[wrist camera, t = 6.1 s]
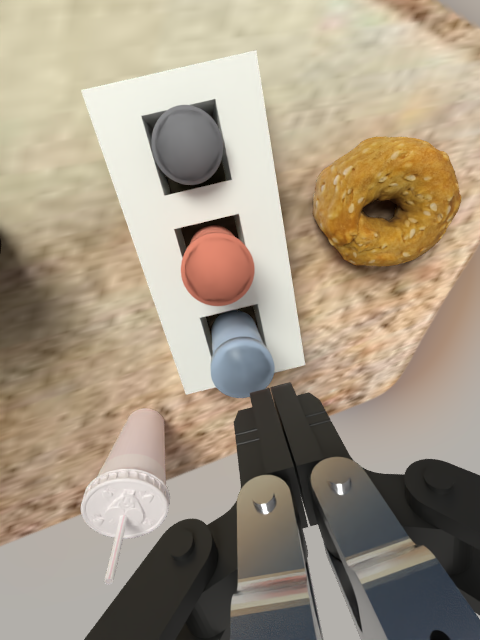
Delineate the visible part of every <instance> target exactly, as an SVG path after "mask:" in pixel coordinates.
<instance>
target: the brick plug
mask: <svg viewBox="0 0 480 640" xmlns="http://www.w3.org/2000/svg"><path fill="white" fill-rule="evenodd" d="M254 273H255V267H254V261H253V258H252V255H251V253H250V252H249V250H248V249H247V247H246V246H245V245H244V243H243V242H242V241H241V240H239V239H238V238H237V237H235V236H234V235H233V234H232V233H231V232H230V231H229V230H228V229H226V228H224V227H222V226H217V225H210V226H206V227H203V228H201V229H200V230H198V231H197V232H196V233H195V234H194V235H193V237H192V239H191V241H190V244H189V246H188V247H187V249H186V251H185V253H184V256H183V259H182V263H181V277H182V281H183V284H184V286H185V288H186V289H187V291H188V292H189V293H190V294H191V295H192V296H193V297H194V298H195V299H196V300H198V301H199V302H202V303H204V304H207V305H211V306H225V305H229V304H232V303H234V302H236V301H237V300H239V299H240V298H242V297H243V296H244V295H245V294H246V293H247V291H248V290H249V288H250V286H251V284H252V282H253V279H254Z"/></svg>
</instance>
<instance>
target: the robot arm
mask: <svg viewBox="0 0 480 640" xmlns="http://www.w3.org/2000/svg"><path fill="white" fill-rule="evenodd" d="M271 391H272V395H271V392H270V389H269V388H267V389H263V390H259V391H255V392H251V393H250V398H251V402H252V408H248V409H244V410H240V411H238V413H237V416H236V418H235V421H234V428H235V435H236V436H235V437H236V444H237V454H238V463H239V471H240V481H241V490H240V492H239V494H238V498H237V501H236V503H235V504H234V506H233V507H232V508H231V509H230V510H229V511H228V512H227V513H225V514H224V515H223V516H221V517H220V518H218V519H216V520H215V521H213V522H211V523H210V524H208V525H206V524H205V523H204V522H202V521H200V520H198V519H186V520H182V521H180V522H178V523H176V524H174V525H173V526H172V527H170V528H169V529H168V530H167V531H166V532H165V533H164V534H163V535H162V537H161V538H160V539H159V541H158V542H157V544H156V545H155V546H154V547H153V549H152V550H151V551H150V553H149V554H148V555H147V557H146V558H145V559H144V561H143V562H142V563H141V565H140V566H139V568H138V569H137V570H136V571H135V573H134V574H133V575H132V577H131V578H130V579H129V581H128V582H127V583H126V585H125V586H124V587H123V589H122V590H121V591H120V593H119V594H118V596H117V597H116V598H115V599H114V601H113V602H112V603H111V605H110V606H109V607H108V609H107V610H106V611H105V613H104V614H103V615H102V617H101V618H100V619H99V621H98V622H97V623H96V625H95V626H94V627H93V629H92V630H91V631H90V633H89V634H88V635H87V637H86V638H85V639H84V640H323V635H322V630H321V625H320V620H319V615H318V610H317V605H316V599H315V595H314V590H313V585H312V579H311V574H310V569H309V565H308V560H307V557H308V550H307V545H306V541H305V537H304V533H303V529H302V528H306V527H308V524H307V520H306V516H305V512H304V507H305V510H306V514H307V517H308V520H309V523H310V526H313V525H316V524H318V525H319V529H320V532H321V535H322V538H323V541H324V546H325V551H326V554H327V557H328V560H329V562H330V564H331V567H332V569H333V572H334V574H335V576H336V579H337V582H338V584H339V587H340V589H341V592H342V594H343V597H344V599H345V601H346V604H347V606H348V609H349V611H350V614H351V616H352V619H353V621H354V624H355V626H356V629H357V631H358V633H359V636H360V639H361V640H480V619H479V618H478V616H477V615H476V613H477V614H478V615H480V475H477V474H475V473H472V472H470V471H467V470H465V469H462V468H459V467H457V466H455V465H452V464H450V463H447V462H444V461H440V460H435V459H424V460H419V461H416V462H414V463H412V464H411V465H410V466H409V467H408V468H407V470H406V472H405V475H400V474H399V475H398V474H381V473H375V472H371V471H368V470H366V469H364V468H362V467H361V466H360V465H359V464H358V463H356V462H355V461H353V459H352V458H351V457H350V455H349V453H348V451H347V450H346V448H345V446H344V444H343V442H342V440H341V438H340V437H339V435H338V433H337V431H336V429H335V427H334V426H333V424H332V422H331V421H330V418H329V416H328V414H327V413H326V411H325V409H324V407H323V405H322V403H321V401H320V400H319V399H318V398H316V397H315V396H313V395H312V394H310V393H305V394H301V395H298V396H296V393H295V391H294V389H293V387H292V384H291V383H286V384H282V385H278V386H274V387H271ZM272 396H273V398H272ZM273 400H274V402H273ZM274 404H275V405H274ZM300 494H301V495H300ZM301 497H302V499H301ZM302 501H303V503H302ZM303 504H304V507H303Z"/></svg>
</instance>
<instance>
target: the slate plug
mask: <svg viewBox="0 0 480 640" xmlns="http://www.w3.org/2000/svg"><path fill="white" fill-rule="evenodd" d="M211 335H212V350H213V356H212V358H211V364H210V367H211V378H212V381H213V383H214V385H215V386H216V388H217V389H218V390H219V391H221V392H222V393H224V394H225V395H228V396H230V397H235V398H246V397H250V393H251V392H255V391H259V390H263V389H265V388H266V387H267V386H268V385H269V383H270V382H271V380H272V378H273V375H274V370H275V366H274V361H273V358H272V356H271V354H270V351H269V350H268V348H267V347H266V346H265V345H264V344H263V342H262V339H261V337H260V334H259V332H258V329H257V327H256V324H255V322H254V320H253V319H252V317H251V316H250V315H248V314H247V313H245V312H242V311H238V310H231V311H227V312H225V313H223V314H221V315H220V316H218V317H217V318H216V320H215V321H214V323H213V325H212V329H211Z"/></svg>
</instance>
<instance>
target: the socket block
mask: <svg viewBox="0 0 480 640" xmlns="http://www.w3.org/2000/svg"><path fill="white" fill-rule="evenodd" d="M81 92H82V94H83V97H84V100H85V103H86V106H87V109H88V112H89V115H90V118H91V121H92V123H93V126H94V129H95V132H96V135H97V138H98V141H99V144H100V147H101V150H102V152H103V155H104V158H105V161H106V164H107V167H108V170H109V173H110V176H111V179H112V181H113V184H114V187H115V190H116V193H117V196H118V199H119V202H120V205H121V208H122V210H123V213H124V216H125V219H126V222H127V225H128V228H129V231H130V234H131V237H132V239H133V242H134V245H135V248H136V251H137V254H138V257H139V260H140V263H141V266H142V268H143V271H144V274H145V277H146V280H147V283H148V286H149V289H150V292H151V294H152V297H153V300H154V303H155V306H156V309H157V312H158V315H159V318H160V321H161V323H162V326H163V329H164V332H165V335H166V338H167V341H168V344H169V347H170V350H171V352H172V355H173V358H174V361H175V364H176V367H177V370H178V373H179V376H180V379H181V381H182V384H183V387H184V390H185V393H186V395H187V394H191V393H195V392H199V391H203V390H207V389H211V388H215V387H216V386H215V385H214V383H213V381H212V378H211V367H210V364H211V358H212V356H213V350H212V337H211V334H210V330H209V327H208V323H207V320H206V316H210V315H214V314H218V313H222V312H226V311H230V310H234V309H238V308H242V307H247V306H251V305H253V308H254V313H255V317H256V322H257V327H258V332H259V334H260V337H261V339H262V342H263V344H264V345H265V346H266V347H267V348H268V350H269V351H270V354H271V356H272V358H273V361H274V366H275V370H274V373H275V372H279V371H283V370H287V369H291V368H295V367H300V366H304V365H305V360H304V354H303V347H302V341H301V334H300V328H299V322H298V315H297V309H296V302H295V296H294V290H293V283H292V277H291V270H290V264H289V257H288V251H287V245H286V238H285V232H284V225H283V219H282V213H281V206H280V200H279V193H278V187H277V181H276V174H275V168H274V161H273V155H272V149H271V142H270V136H269V129H268V123H267V116H266V110H265V104H264V97H263V91H262V84H261V78H260V72H259V65H258V59H257V52H256V50H255V51H250V52H246V53H242V54H237V55H233V56H229V57H224V58H220V59H215V60H211V61H207V62H202V63H198V64H193V65H189V66H185V67H180V68H176V69H172V70H167V71H163V72H158V73H154V74H150V75H145V76H141V77H137V78H132V79H128V80H123V81H119V82H115V83H110V84H106V85H102V86H97V87H93V88H88V89H84V90H81ZM178 105H191V106H195V107H198V108H200V109H202V110H203V111H205V112H206V113H207V114H209V115H210V116H211V117H212V116H213V120H214V121H215V123H216V124H217V126H218V128H219V130H220V133H221V136H222V140H223V155H222V163H223V168H224V172H225V177H226V181H225V182H220V183H216V184H212V185H208V186H203V187H199V188H195V189H191V190H186V191H182V192H178V193H174V194H171V192H170V188H169V185H168V181H167V178H166V175H165V174H164V173H163V172H162V170H161V169H160V168H159V166H158V165H157V163H156V161H155V158H154V155H153V152H152V145H151V140H152V132H153V129H154V126H155V124H156V122H157V120H158V119H159V117H160V116H161V115H162V114H163V113H164V112H165V111H167V110H168V109H170V108H172V107H175V106H178ZM231 215H234V219H235V224H236V229H237V233H238V238H239V240H241V241H242V242H243V243H244V245H245V246H246V247H247V249H248V250H249V252H250V253H251V255H252V258H253V261H254V267H255V273H254V279H253V282H252V284H251V286H250V288H249V290H248V291H247V293H246V294H245V295H244V296H243V297H242V298H240V299H239V300H237V301H236V302H234V303H232V304H229V305H225V306H211V305H207V304H204V303H202V302H199V301H198V300H196V299H195V298H194V297H193V296H192V295H191V294H190V293H189V292H188V291H187V289H186V288H185V286H184V284H183V281H182V277H181V263H182V259H183V256H184V253H185V251H186V245H185V242H184V238H183V234H182V231H181V227H185V226H189V225H194V224H198V223H202V222H206V221H210V220H215V219H219V218H223V217H227V216H231Z"/></svg>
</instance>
